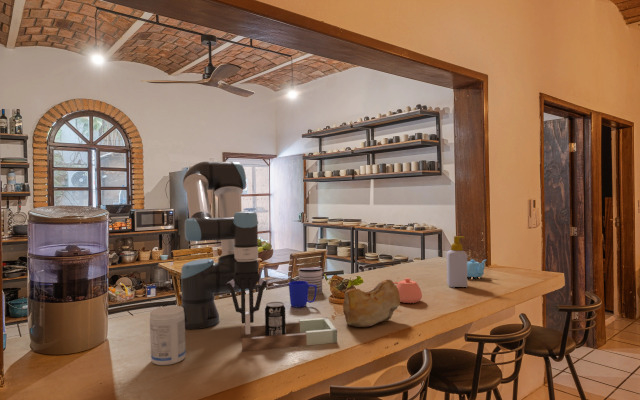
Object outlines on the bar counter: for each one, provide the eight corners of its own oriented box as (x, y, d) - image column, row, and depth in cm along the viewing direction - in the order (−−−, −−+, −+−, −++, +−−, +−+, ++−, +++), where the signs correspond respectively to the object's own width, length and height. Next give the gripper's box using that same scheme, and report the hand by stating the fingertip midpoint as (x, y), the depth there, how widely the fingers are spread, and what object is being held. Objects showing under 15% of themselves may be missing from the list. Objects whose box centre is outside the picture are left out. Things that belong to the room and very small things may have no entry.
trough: (242, 351, 130) (242, 339, 130) (240, 336, 144) (240, 325, 143) (306, 345, 134) (306, 334, 134) (299, 331, 148) (299, 321, 148)
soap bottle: (467, 288, 209) (467, 237, 209) (449, 287, 211) (448, 237, 210) (464, 284, 218) (464, 235, 218) (446, 284, 220) (446, 235, 219)
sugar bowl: (420, 306, 178) (420, 282, 178) (387, 303, 183) (387, 280, 182) (423, 299, 190) (423, 276, 190) (392, 297, 194) (391, 274, 194)
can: (295, 294, 202) (294, 269, 202) (303, 289, 213) (303, 265, 213) (318, 295, 198) (317, 270, 198) (325, 290, 209) (325, 266, 209)
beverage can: (275, 335, 144) (275, 300, 143) (289, 339, 139) (289, 303, 139) (261, 341, 139) (260, 304, 138) (275, 345, 134) (275, 307, 134)
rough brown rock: (380, 312, 172) (376, 275, 173) (407, 319, 158) (403, 279, 158) (330, 324, 161) (327, 284, 161) (355, 332, 146) (351, 289, 147)
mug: (314, 309, 175) (314, 285, 175) (286, 308, 178) (286, 284, 178) (318, 304, 183) (318, 281, 183) (291, 303, 186) (291, 280, 186)
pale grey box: (306, 345, 134) (306, 332, 134) (299, 331, 148) (299, 319, 148) (337, 342, 136) (337, 330, 136) (327, 328, 150) (327, 317, 150)
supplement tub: (175, 351, 131) (174, 303, 130) (192, 359, 124) (191, 309, 124) (144, 360, 124) (143, 310, 123) (160, 369, 117) (159, 316, 117)
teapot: (458, 279, 232) (458, 260, 232) (462, 274, 243) (462, 257, 243) (483, 281, 226) (483, 262, 225) (486, 276, 237) (486, 258, 237)
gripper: (225, 262, 132) (227, 338, 132) (267, 260, 134) (269, 334, 134) (225, 259, 139) (227, 331, 139) (265, 257, 142) (267, 327, 142)
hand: (247, 332), depth 137 cm, fingers closed
